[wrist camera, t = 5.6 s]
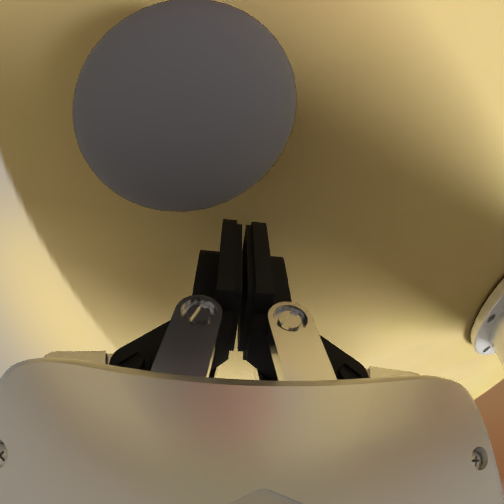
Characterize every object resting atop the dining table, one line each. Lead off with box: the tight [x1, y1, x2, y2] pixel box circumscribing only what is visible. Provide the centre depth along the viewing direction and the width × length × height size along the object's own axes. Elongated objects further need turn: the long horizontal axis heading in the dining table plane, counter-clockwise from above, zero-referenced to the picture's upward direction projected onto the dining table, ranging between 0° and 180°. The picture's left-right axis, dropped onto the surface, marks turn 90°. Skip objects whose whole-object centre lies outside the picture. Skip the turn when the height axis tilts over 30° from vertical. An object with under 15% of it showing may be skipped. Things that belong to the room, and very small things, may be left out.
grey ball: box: [73, 0, 297, 212], centre depth 7 cm, size 6×6×6 cm
